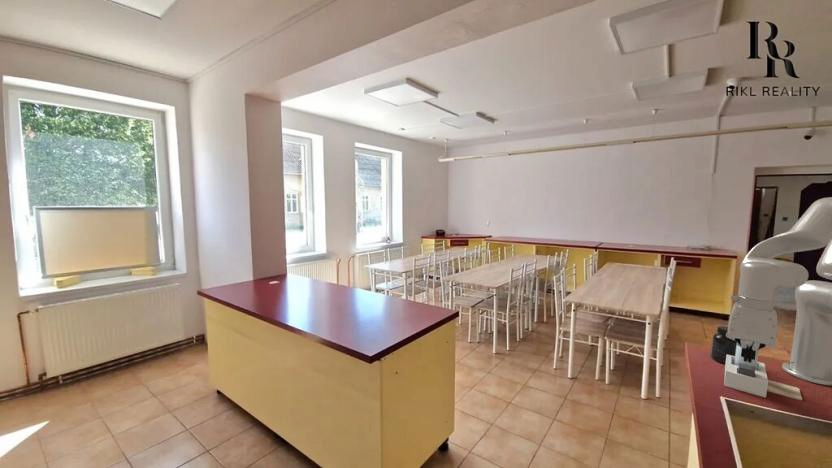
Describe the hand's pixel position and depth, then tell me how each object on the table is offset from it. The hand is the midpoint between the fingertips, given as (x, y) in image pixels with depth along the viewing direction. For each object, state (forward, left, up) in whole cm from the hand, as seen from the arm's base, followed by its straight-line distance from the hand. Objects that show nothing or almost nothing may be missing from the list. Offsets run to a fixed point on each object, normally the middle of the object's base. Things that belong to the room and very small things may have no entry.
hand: (747, 360), depth 101 cm
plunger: (0, 0, -6) cm, 6 cm away
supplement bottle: (-18, -5, -9) cm, 21 cm away
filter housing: (-5, 0, -9) cm, 10 cm away
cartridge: (-7, 0, -9) cm, 12 cm away
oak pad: (-6, +9, -9) cm, 14 cm away
